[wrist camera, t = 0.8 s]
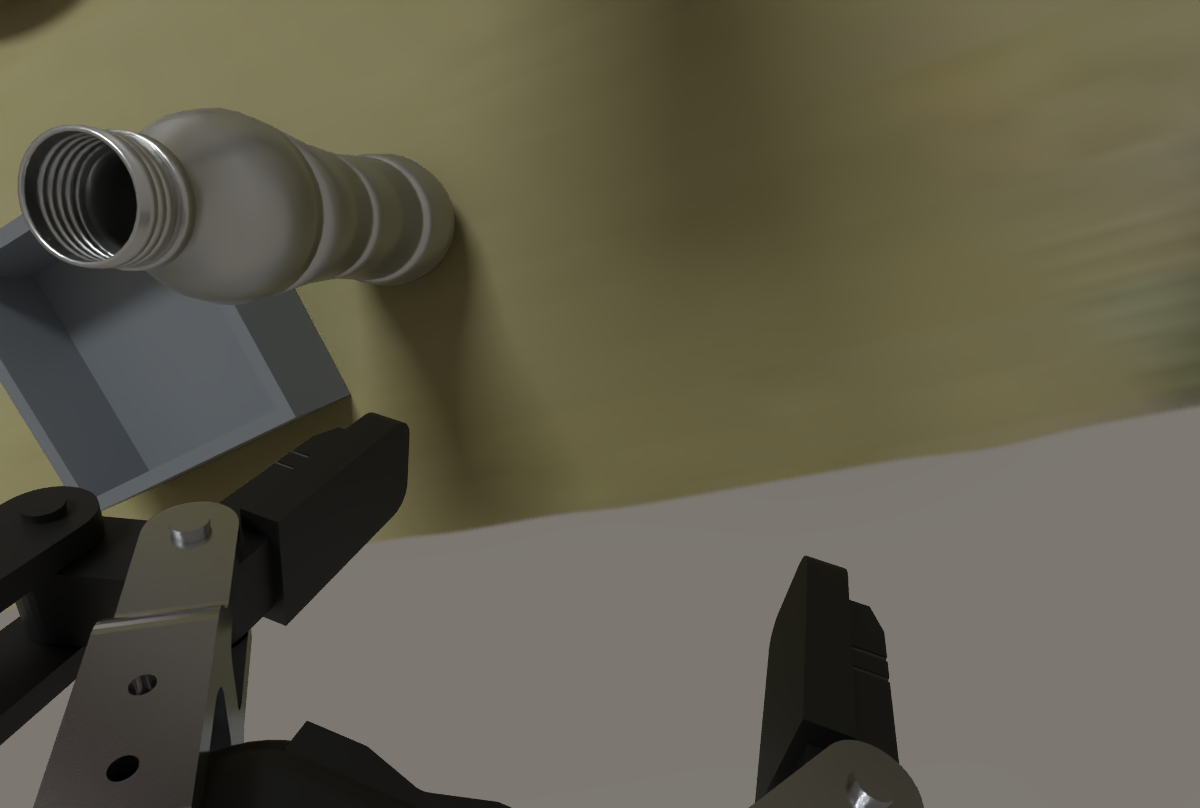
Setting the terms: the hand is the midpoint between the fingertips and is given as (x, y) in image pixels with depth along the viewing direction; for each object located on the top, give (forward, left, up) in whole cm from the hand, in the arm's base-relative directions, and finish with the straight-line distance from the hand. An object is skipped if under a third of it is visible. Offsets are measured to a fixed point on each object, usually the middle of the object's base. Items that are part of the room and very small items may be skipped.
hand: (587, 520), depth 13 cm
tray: (-12, -25, -24) cm, 37 cm away
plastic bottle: (-12, -10, -24) cm, 29 cm away
